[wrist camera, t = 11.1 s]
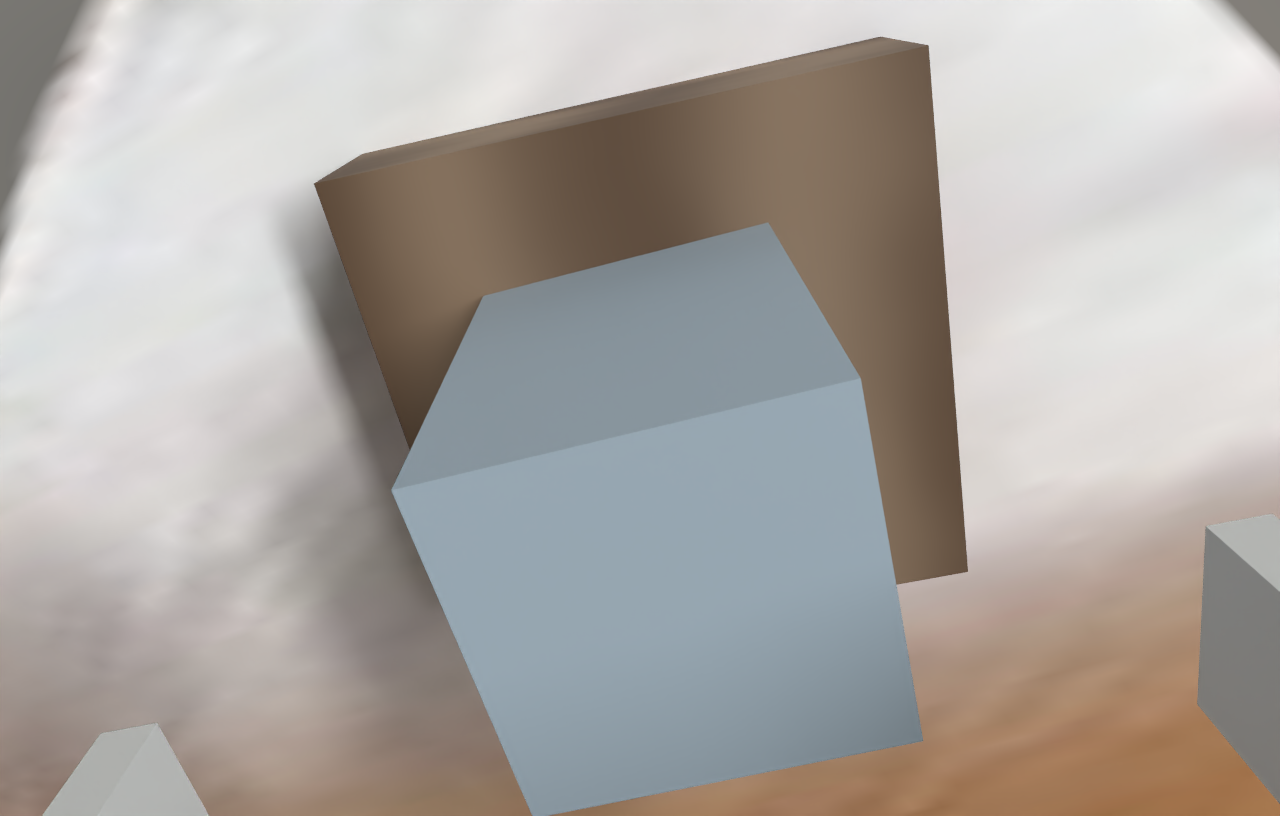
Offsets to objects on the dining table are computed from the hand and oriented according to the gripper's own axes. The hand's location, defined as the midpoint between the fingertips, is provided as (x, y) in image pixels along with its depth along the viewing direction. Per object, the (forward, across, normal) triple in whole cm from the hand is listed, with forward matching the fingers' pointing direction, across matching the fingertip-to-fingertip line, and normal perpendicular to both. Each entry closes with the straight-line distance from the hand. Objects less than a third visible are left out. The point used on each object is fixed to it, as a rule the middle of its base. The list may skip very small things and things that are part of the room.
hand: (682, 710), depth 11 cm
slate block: (+9, 0, 0) cm, 9 cm away
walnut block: (+13, 0, 0) cm, 13 cm away
